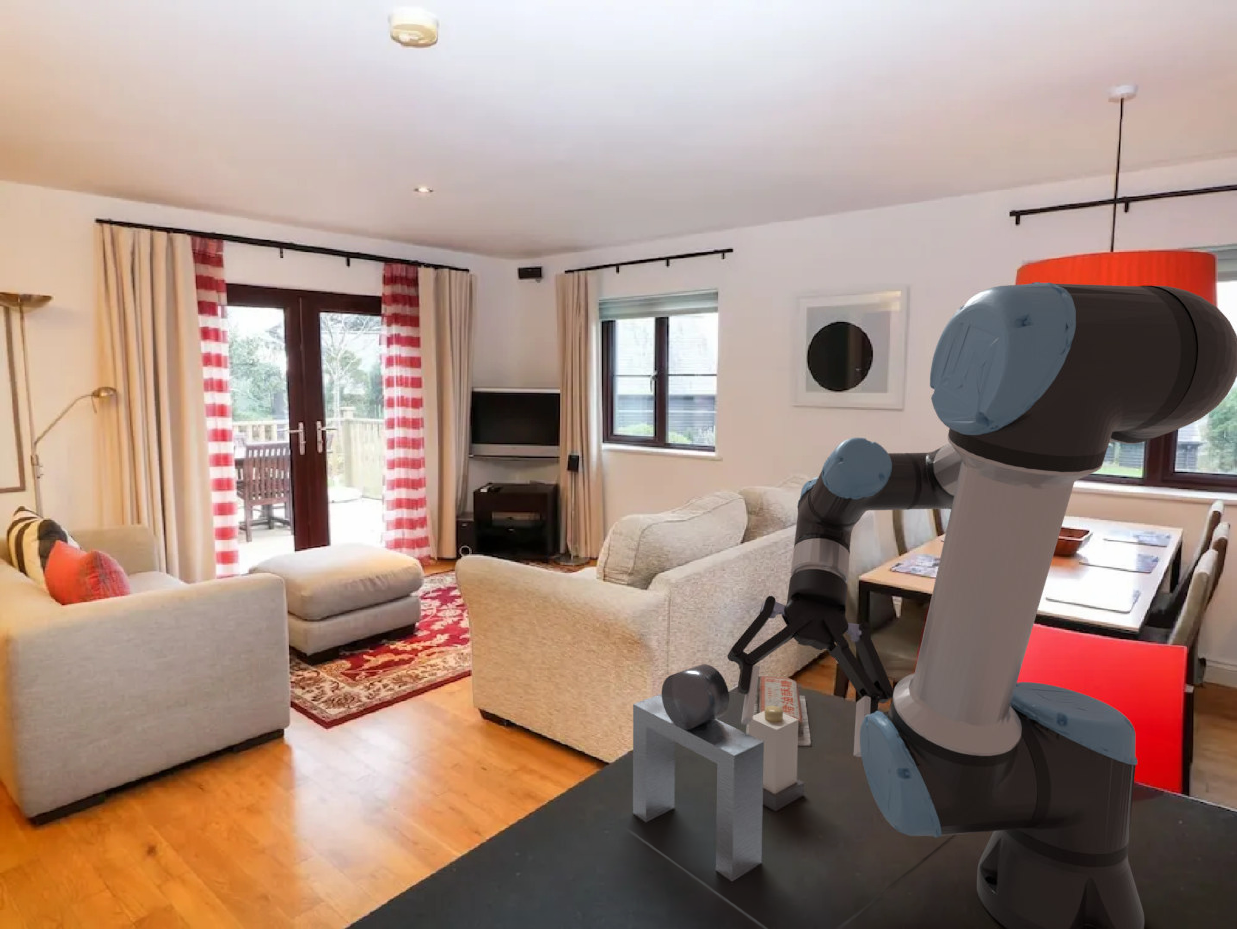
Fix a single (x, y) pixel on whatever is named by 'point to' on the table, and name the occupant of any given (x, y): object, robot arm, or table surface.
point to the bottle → (778, 756)
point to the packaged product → (783, 703)
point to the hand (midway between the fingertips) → (803, 738)
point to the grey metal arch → (692, 724)
